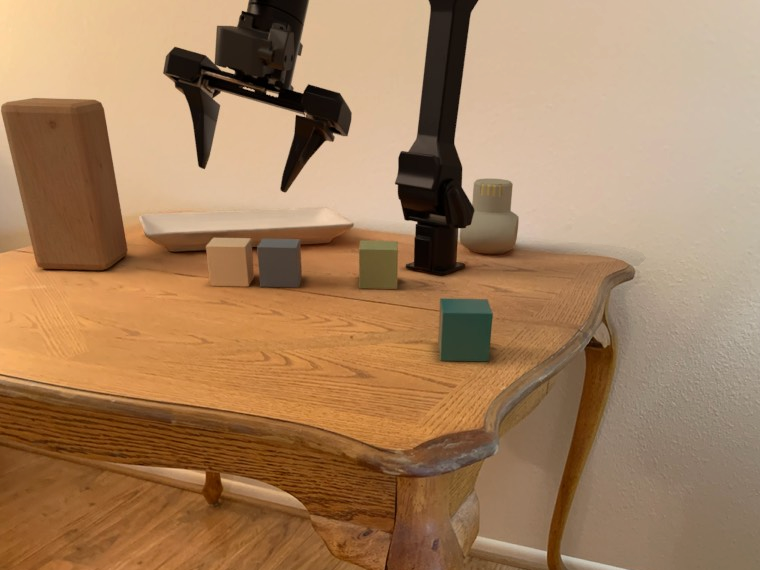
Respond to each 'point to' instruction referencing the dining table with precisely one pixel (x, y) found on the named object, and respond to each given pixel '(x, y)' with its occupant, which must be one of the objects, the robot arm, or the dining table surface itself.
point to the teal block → (464, 329)
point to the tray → (243, 226)
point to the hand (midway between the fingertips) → (242, 179)
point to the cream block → (230, 261)
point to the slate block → (279, 262)
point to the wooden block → (66, 182)
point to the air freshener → (491, 218)
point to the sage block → (378, 264)
